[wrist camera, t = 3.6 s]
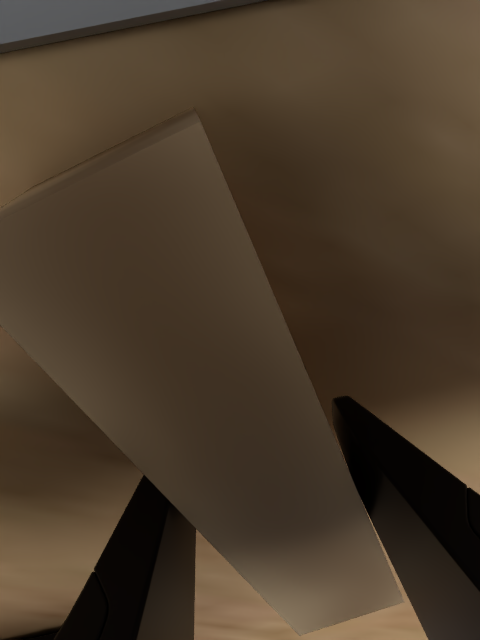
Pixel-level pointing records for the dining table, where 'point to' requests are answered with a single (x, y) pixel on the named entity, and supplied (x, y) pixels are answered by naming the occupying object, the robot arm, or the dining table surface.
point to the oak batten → (191, 365)
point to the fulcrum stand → (89, 17)
